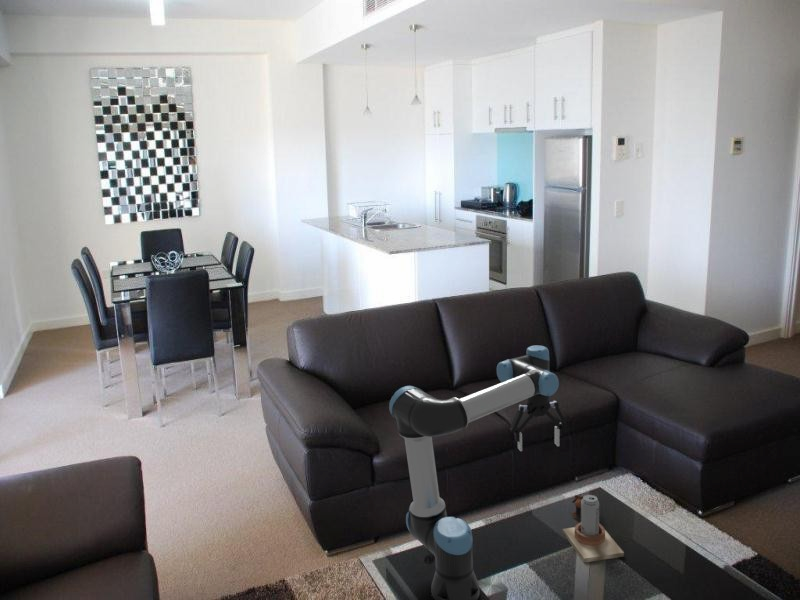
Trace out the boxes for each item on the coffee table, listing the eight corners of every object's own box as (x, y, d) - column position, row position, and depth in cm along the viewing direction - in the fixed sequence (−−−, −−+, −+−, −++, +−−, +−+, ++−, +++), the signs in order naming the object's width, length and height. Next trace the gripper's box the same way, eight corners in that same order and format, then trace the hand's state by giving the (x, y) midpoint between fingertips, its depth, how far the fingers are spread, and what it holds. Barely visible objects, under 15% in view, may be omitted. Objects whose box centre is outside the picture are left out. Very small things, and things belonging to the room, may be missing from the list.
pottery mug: (564, 516, 256) (567, 493, 258) (581, 519, 261) (584, 496, 263) (590, 521, 246) (592, 498, 248) (607, 524, 251) (609, 501, 253)
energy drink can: (581, 531, 242) (582, 492, 239) (599, 533, 240) (600, 494, 237) (579, 540, 237) (580, 501, 233) (597, 543, 235) (598, 503, 231)
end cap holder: (584, 562, 227) (584, 550, 226) (562, 532, 245) (562, 521, 244) (623, 556, 229) (624, 544, 228) (599, 527, 247) (600, 516, 246)
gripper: (506, 398, 230) (507, 456, 235) (577, 390, 234) (576, 447, 239) (499, 390, 238) (501, 446, 243) (568, 382, 241) (568, 438, 246)
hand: (538, 447), depth 241 cm, fingers open, 13 cm apart
